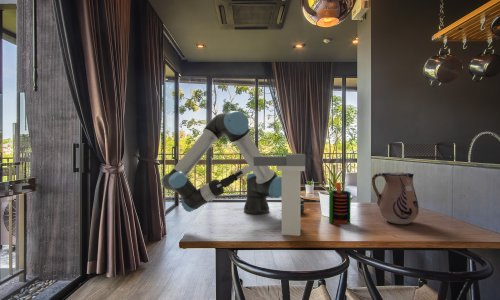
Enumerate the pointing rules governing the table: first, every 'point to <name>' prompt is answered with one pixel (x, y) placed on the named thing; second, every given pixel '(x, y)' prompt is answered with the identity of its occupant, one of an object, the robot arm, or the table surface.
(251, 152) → the robot arm
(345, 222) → the motor
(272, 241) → the table surface
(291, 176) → the stand
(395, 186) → the ceramic pitcher
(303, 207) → the jar
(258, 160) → the bar
